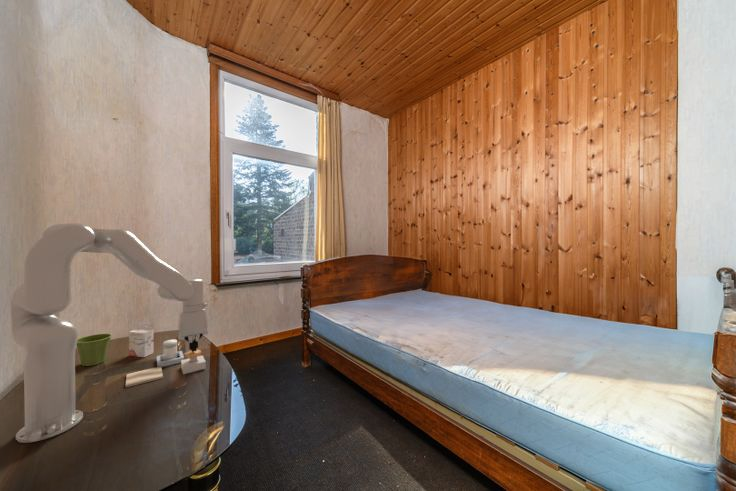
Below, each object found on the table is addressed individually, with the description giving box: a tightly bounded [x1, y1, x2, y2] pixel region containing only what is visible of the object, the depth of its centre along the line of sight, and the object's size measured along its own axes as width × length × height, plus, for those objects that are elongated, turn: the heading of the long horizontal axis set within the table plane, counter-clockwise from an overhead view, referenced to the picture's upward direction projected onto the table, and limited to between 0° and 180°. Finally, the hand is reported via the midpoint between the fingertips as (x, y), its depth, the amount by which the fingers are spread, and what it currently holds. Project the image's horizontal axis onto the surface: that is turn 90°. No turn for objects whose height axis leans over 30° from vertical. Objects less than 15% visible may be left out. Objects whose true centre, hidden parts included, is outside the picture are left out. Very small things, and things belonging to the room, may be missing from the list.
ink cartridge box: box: [128, 322, 155, 358], centre depth 127 cm, size 9×5×15 cm, turn 84°
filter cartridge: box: [162, 339, 178, 361], centre depth 121 cm, size 5×5×9 cm
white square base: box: [180, 354, 207, 375], centre depth 115 cm, size 8×8×3 cm
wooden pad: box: [124, 366, 164, 388], centre depth 107 cm, size 11×11×1 cm
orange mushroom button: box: [184, 349, 202, 363], centre depth 115 cm, size 6×6×4 cm
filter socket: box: [156, 350, 185, 368], centre depth 121 cm, size 9×9×2 cm
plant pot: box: [76, 333, 113, 367], centre depth 118 cm, size 12×12×11 cm
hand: (193, 350), depth 115 cm, fingers closed
